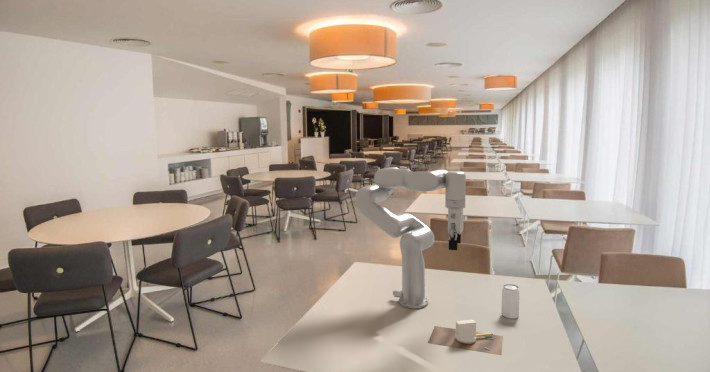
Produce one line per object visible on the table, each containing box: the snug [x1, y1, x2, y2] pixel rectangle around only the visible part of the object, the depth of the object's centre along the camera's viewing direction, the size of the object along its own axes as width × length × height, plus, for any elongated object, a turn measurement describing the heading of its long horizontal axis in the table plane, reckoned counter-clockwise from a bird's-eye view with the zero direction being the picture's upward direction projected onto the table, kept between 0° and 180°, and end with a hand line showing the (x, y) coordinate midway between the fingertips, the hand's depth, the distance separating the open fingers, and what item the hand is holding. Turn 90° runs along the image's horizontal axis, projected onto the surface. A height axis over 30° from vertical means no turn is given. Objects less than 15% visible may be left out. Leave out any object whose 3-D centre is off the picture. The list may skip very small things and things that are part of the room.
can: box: [501, 283, 520, 320], centre depth 167 cm, size 6×6×12 cm
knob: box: [455, 318, 494, 344], centre depth 147 cm, size 14×7×6 cm, turn 99°
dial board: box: [427, 325, 504, 356], centre depth 147 cm, size 24×13×2 cm, turn 69°
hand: (454, 246), depth 165 cm, fingers open, 9 cm apart
